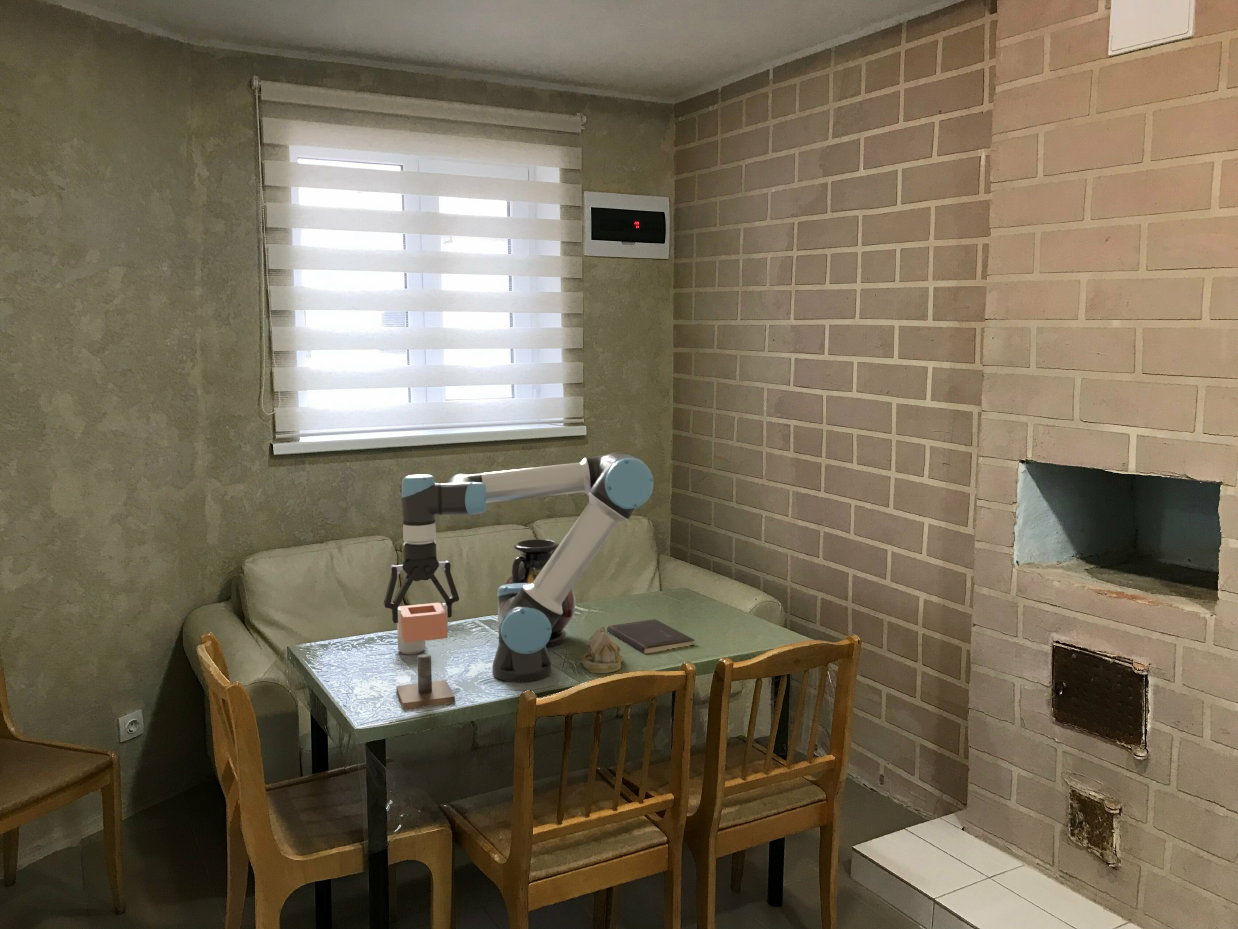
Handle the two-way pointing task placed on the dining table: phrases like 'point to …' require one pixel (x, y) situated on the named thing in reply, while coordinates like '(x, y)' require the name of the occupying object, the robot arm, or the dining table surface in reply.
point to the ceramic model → (602, 653)
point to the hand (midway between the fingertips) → (422, 633)
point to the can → (410, 646)
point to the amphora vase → (530, 567)
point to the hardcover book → (649, 636)
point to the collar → (423, 622)
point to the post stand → (425, 688)
